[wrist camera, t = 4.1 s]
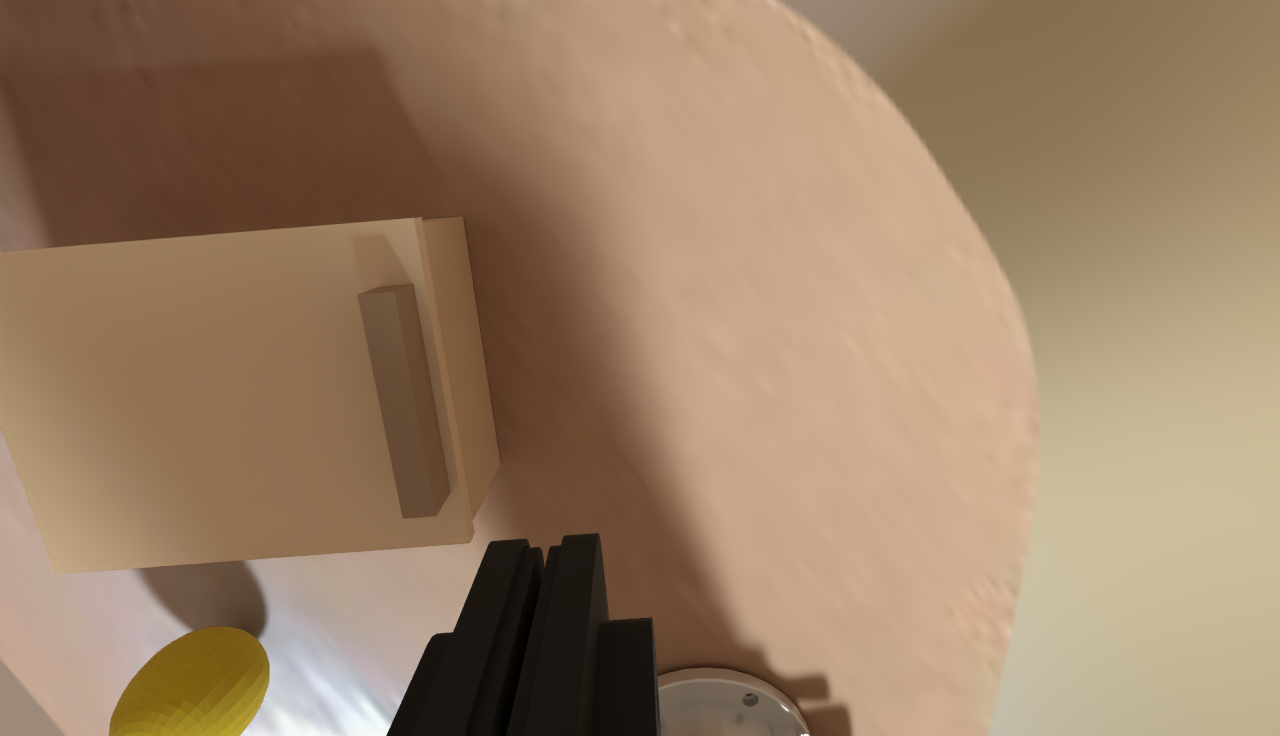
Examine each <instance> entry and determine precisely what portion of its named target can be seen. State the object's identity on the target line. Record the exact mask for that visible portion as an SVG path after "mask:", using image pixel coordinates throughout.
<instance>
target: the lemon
mask: <svg viewBox="0 0 1280 736" xmlns="http://www.w3.org/2000/svg"><path fill="white" fill-rule="evenodd" d="M268 684H269V661H268V657H267V654H266V651H265V650H264V648H263V646H262V645H261V643H260V642H259V641H258V640H257V639H256V638H255V637H254V636H252V635H251V634H249V633H248V632H246V631H243V630H241V629H238V628H233V627H228V626H214V627H207V628H203V629H199V630H195V631H192V632H190V633H187V634H186V635H184V636H182V637H180V638H178V639H177V640H175V641H173V642H171V643H170V644H168V645H167V646H165V647H164V648H162V649H161V650H160V651H159V652H157V653H156V654H155V655H154V656H153V657H152V658H151V659H150V660H149V661H148V662H147V663H146V664H145V665H144V666H143V667H142V668H141V669H140V671H139V672H138V673H137V674H136V675H135V676H134V678H133V679H132V680H131V682H130V683H129V684H128V686H127V687H126V689H125V691H124V692H123V694H122V696H121V698H120V699H119V701H118V703H117V706H116V708H115V710H114V712H113V715H112V717H111V722H110V730H109V736H240V735H241V734H242V732H243V731H244V730H245V729H246V727H247V726H248V725H249V723H250V722H251V721H252V719H253V718H254V716H255V715H256V713H257V712H258V710H259V708H260V706H261V704H262V702H263V699H264V696H265V693H266V690H267V688H268Z"/></svg>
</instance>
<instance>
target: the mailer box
mask: <svg viewBox="0 0 1280 736" xmlns="http://www.w3.org/2000/svg"><path fill="white" fill-rule="evenodd" d="M422 223H423V229H424V235H425V241H426V246H427V252H428V258H429V264H430V270H431V276H432V282H433V288H434V294H435V300H436V306H437V312H438V318H439V323H440V329H441V335H442V341H443V347H444V353H445V359H446V365H447V371H448V377H449V383H450V389H451V395H452V400H453V406H454V412H455V418H456V424H457V430H458V436H459V442H460V448H461V454H462V460H463V466H464V472H465V477H466V483H467V489H468V495H469V501H470V507H471V513H472V519H474V517H475V515H476V513H477V511H478V509H479V507H480V505H481V503H482V501H483V499H484V497H485V495H486V493H487V491H488V489H489V487H490V485H491V482H492V480H493V478H494V476H495V474H496V472H497V470H498V468H499V466H500V457H499V451H498V444H497V438H496V431H495V424H494V418H493V411H492V405H491V398H490V391H489V385H488V378H487V372H486V365H485V358H484V352H483V345H482V338H481V332H480V325H479V319H478V312H477V305H476V299H475V292H474V286H473V279H472V272H471V266H470V259H469V253H468V246H467V239H466V233H465V226H464V220H463V216H462V217H450V218H438V219H426V220H422Z"/></svg>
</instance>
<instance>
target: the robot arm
mask: <svg viewBox="0 0 1280 736" xmlns="http://www.w3.org/2000/svg"><path fill="white" fill-rule="evenodd" d="M387 736H810V733H809V730H808V727H807V724H806V722H805V720H804V719H803V717H802V715H801V714H800V712H799V710H798V709H797V707H796V706H795V705H794V704H793V703H792V702H791V701H790V700H789V699H788V698H787V697H786V696H785V695H784V694H783V693H782V692H780V691H779V690H777V689H776V688H775V687H773V686H772V685H770V684H769V683H767V682H765V681H763V680H760V679H758V678H756V677H754V676H751V675H749V674H745V673H741V672H737V671H733V670H730V669H719V668H708V667H706V668H692V669H683V670H679V671H675V672H670V673H666V674H663V675H660V676H657V663H656V652H655V640H654V629H653V620H652V618H639V619H626V620H612V621H609V613H608V604H607V595H606V586H605V577H604V568H603V558H602V549H601V541H600V536H599V533H593V534H580V535H567V536H563V539H562V544H561V545H560V546H551V547H550V548H549V552H548V557H547V561H546V565H545V567H544V560H543V554H542V550H541V548H540V547H534V548H530V545H529V542H528V540H527V539H515V540H502V541H491V542H490V543H489V545H488V547H487V549H486V552H485V554H484V557H483V559H482V562H481V564H480V567H479V569H478V572H477V574H476V577H475V579H474V582H473V584H472V587H471V589H470V592H469V594H468V597H467V599H466V602H465V604H464V607H463V609H462V611H461V614H460V616H459V619H458V621H457V624H456V626H455V629H454V631H453V632H452V633H438V634H435V635H434V636H432V638H431V639H430V641H429V643H428V644H427V646H426V649H425V651H424V653H423V655H422V658H421V660H420V662H419V664H418V666H417V669H416V671H415V673H414V675H413V678H412V680H411V682H410V684H409V687H408V689H407V691H406V693H405V695H404V698H403V700H402V702H401V704H400V707H399V709H398V711H397V713H396V716H395V718H394V720H393V722H392V724H391V727H390V729H389V731H388V733H387Z"/></svg>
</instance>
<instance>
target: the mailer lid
mask: <svg viewBox="0 0 1280 736" xmlns="http://www.w3.org/2000/svg"><path fill="white" fill-rule="evenodd" d="M0 428H1V430H2V433H3V436H4V438H5V441H6V444H7V446H8V449H9V451H10V454H11V457H12V459H13V462H14V465H15V467H16V470H17V473H18V475H19V478H20V481H21V483H22V486H23V488H24V491H25V494H26V496H27V499H28V502H29V504H30V507H31V510H32V512H33V515H34V518H35V520H36V523H37V525H38V528H39V531H40V533H41V536H42V539H43V541H44V544H45V547H46V549H47V552H48V555H49V557H50V560H51V562H52V565H53V568H54V570H55V573H56V574H69V573H82V572H95V571H108V570H121V569H135V568H148V567H161V566H174V565H187V564H200V563H214V562H227V561H240V560H253V559H266V558H280V557H293V556H306V555H319V554H332V553H346V552H359V551H372V550H385V549H398V548H411V547H425V546H438V545H451V544H464V543H470V542H471V539H472V537H473V535H474V533H475V531H474V525H473V519H472V513H471V507H470V501H469V495H468V489H467V483H466V477H465V472H464V466H463V460H462V454H461V448H460V442H459V436H458V430H457V424H456V418H455V412H454V406H453V400H452V395H451V389H450V383H449V377H448V371H447V365H446V359H445V353H444V347H443V341H442V335H441V329H440V323H439V318H438V312H437V306H436V300H435V294H434V288H433V282H432V276H431V270H430V264H429V258H428V252H427V246H426V241H425V235H424V229H423V223H422V217H416V218H403V219H391V220H379V221H367V222H355V223H343V224H331V225H319V226H306V227H294V228H282V229H270V230H258V231H246V232H234V233H221V234H209V235H197V236H185V237H173V238H161V239H149V240H137V241H124V242H112V243H100V244H88V245H76V246H64V247H52V248H40V249H27V250H15V251H3V252H0Z"/></svg>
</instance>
